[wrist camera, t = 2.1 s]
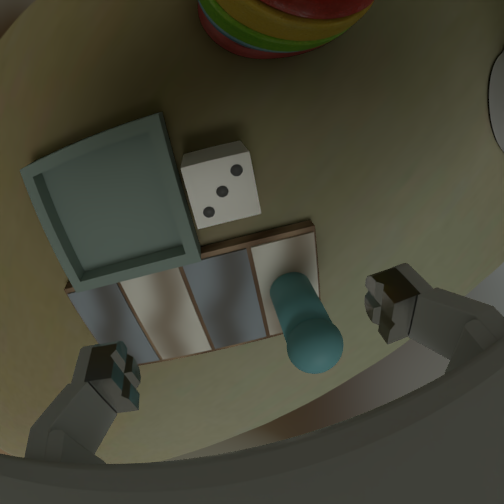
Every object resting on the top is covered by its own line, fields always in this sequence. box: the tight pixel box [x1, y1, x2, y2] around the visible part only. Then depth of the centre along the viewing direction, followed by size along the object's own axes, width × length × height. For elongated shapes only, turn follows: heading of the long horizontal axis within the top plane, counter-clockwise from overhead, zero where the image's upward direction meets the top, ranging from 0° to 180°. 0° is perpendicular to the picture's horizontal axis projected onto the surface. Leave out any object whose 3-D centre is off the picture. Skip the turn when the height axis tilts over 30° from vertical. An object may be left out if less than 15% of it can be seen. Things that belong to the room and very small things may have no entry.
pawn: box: [270, 272, 343, 374], centre depth 25 cm, size 4×4×10 cm
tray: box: [20, 112, 201, 293], centre depth 22 cm, size 12×12×2 cm
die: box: [181, 141, 261, 229], centre depth 22 cm, size 4×4×5 cm
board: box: [64, 220, 320, 366], centre depth 29 cm, size 24×12×1 cm, turn 100°
